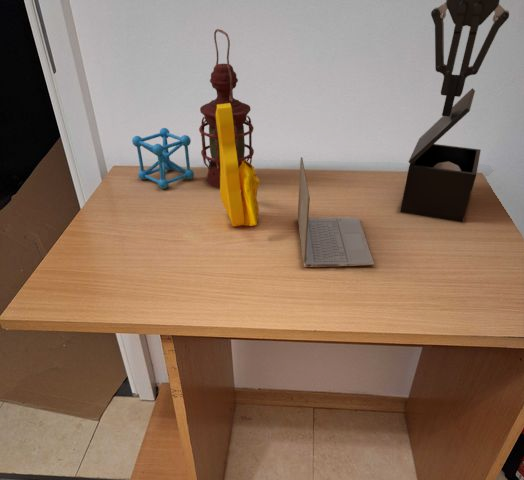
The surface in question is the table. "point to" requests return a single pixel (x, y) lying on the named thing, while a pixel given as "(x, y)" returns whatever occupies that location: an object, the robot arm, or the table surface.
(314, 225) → the laptop
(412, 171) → the box
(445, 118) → the dark brown box lid
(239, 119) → the lantern
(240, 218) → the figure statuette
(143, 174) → the molecular structure
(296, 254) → the table surface
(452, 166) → the geometric ball
